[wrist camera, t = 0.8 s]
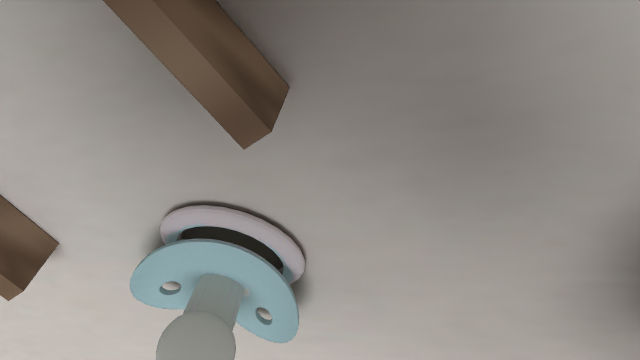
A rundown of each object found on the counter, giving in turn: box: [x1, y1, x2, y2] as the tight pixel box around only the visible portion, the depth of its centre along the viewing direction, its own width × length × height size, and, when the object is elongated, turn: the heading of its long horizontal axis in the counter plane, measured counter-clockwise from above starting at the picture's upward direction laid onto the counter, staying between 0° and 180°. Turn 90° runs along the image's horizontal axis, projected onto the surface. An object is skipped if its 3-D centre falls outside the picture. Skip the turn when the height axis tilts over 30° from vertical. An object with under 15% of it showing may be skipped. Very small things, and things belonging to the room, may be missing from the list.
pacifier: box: [130, 205, 305, 360], centre depth 24 cm, size 7×6×6 cm
